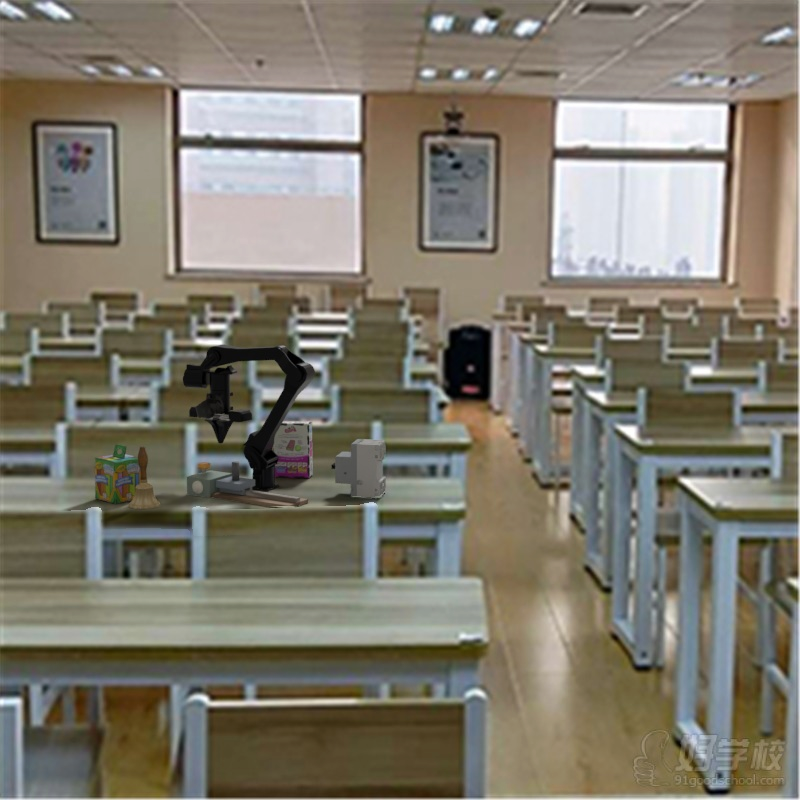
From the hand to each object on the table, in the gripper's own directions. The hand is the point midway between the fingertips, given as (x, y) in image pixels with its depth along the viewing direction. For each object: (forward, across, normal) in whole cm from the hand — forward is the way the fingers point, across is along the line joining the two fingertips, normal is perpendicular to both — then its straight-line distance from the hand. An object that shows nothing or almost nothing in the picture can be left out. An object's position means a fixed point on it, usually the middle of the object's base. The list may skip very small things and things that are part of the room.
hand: (220, 443), depth 335 cm
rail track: (+12, +21, -10) cm, 26 cm away
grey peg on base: (+11, +13, -10) cm, 20 cm away
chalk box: (+12, -12, -29) cm, 34 cm away
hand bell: (+12, -1, -31) cm, 33 cm away
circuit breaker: (+12, +40, +10) cm, 43 cm away
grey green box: (+12, +4, -10) cm, 16 cm away
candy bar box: (+12, +11, +20) cm, 26 cm away
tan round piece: (+6, +2, -10) cm, 12 cm away
